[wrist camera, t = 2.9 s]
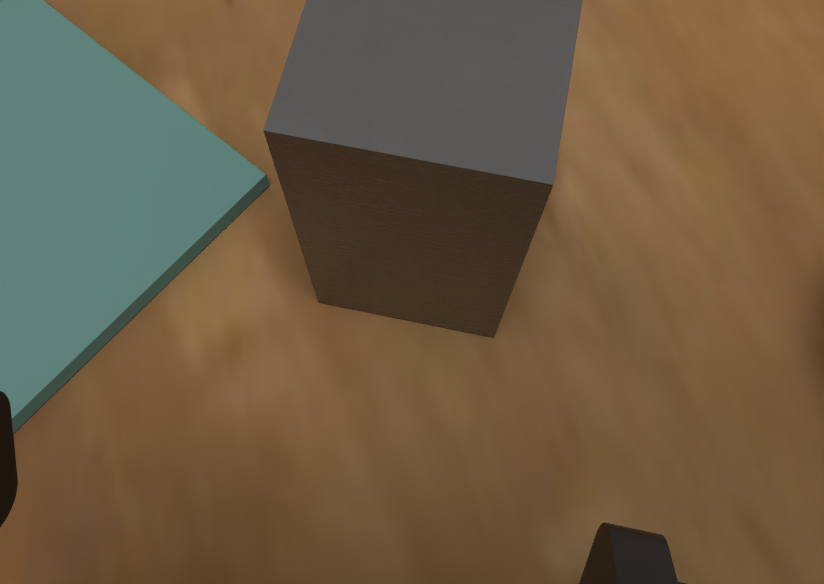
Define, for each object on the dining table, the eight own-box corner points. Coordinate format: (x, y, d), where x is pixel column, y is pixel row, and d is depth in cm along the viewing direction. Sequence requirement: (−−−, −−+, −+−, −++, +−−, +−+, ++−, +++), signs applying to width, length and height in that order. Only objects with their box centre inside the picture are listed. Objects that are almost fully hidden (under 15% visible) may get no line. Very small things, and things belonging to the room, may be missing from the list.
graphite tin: (359, 152, 28) (334, -84, 18) (521, 182, 28) (588, -42, 18) (318, 302, 26) (263, 130, 16) (493, 337, 26) (553, 184, 15)
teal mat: (31, -2, 31) (22, -16, 30) (269, 184, 28) (265, 174, 27) (-265, 224, 27) (-283, 214, 26) (-26, 471, 24) (-40, 468, 23)
